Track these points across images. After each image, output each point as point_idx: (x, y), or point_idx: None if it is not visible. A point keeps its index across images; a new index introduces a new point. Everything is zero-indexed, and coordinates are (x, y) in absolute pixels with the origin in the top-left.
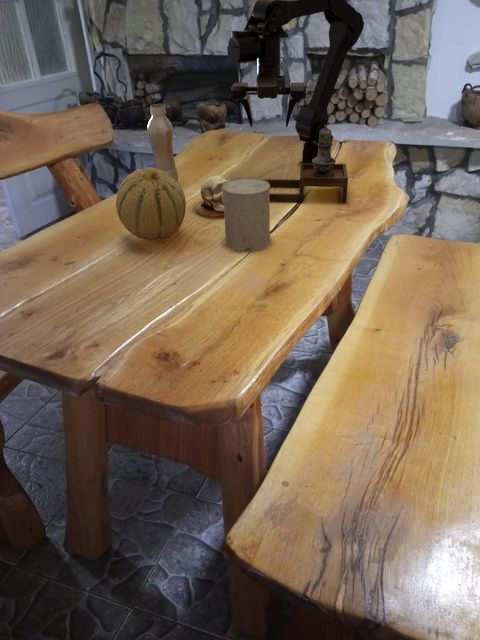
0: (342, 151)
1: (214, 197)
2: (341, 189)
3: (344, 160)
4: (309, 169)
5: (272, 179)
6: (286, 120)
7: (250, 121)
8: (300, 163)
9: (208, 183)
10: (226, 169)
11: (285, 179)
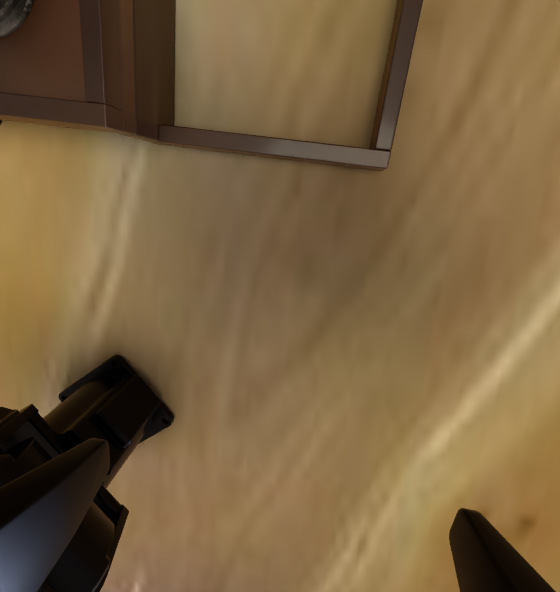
0: None
1: None
2: None
3: None
4: (67, 92)
5: (298, 151)
6: (51, 483)
7: (513, 564)
8: (104, 118)
9: None
10: (481, 408)
11: (230, 145)
